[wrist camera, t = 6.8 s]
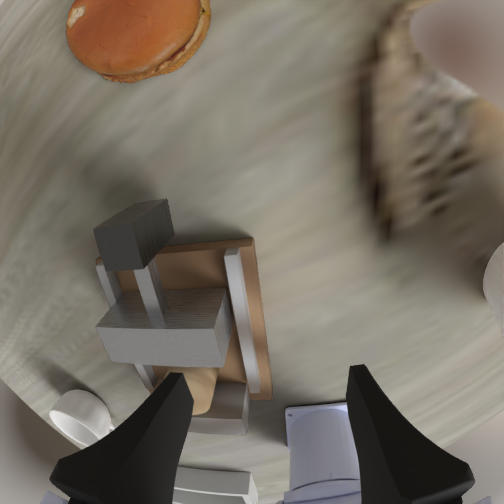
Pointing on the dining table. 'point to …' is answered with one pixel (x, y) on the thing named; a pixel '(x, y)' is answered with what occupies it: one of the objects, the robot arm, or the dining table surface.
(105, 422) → the teacup
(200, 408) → the nut
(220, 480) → the box
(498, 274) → the white plant pot
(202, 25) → the burger
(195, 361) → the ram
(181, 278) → the bench
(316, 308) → the dining table surface
